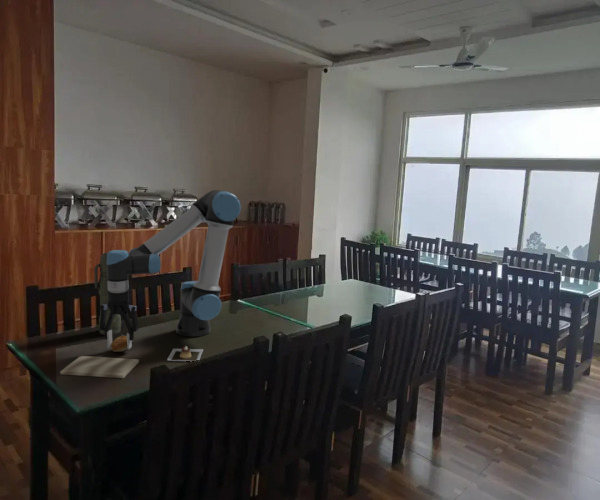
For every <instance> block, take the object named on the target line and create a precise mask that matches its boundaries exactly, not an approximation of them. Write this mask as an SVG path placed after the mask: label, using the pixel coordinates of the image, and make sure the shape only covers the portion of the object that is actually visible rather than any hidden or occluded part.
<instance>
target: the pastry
mask: <svg viewBox="0 0 600 500" xmlns="http://www.w3.org/2000/svg"><path fill="white" fill-rule="evenodd" d="M111 346H112V347H111V350H112V351H113V352H124V351H125V350H128V349H127V335H126V336H125V335H121V336H117V337H116V338H115V339H114V340H112V345H111Z"/></svg>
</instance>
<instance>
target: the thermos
mask: <svg viewBox="0 0 600 500" xmlns="http://www.w3.org/2000/svg"><path fill="white" fill-rule="evenodd" d="M107 253H108V252H104V253H102V254H101V256H100V259H99V263H98V264H96V265H95V267H94V269H93V271H94V287H95V289H96V290H98V295H99V307H100V306H101V305H103V304H108V292H109V291H108V280H107ZM98 268H99V271H98ZM98 272H100V275H98ZM98 276H99V279H98ZM99 311H100V313H99V317H98V326H99V327H98V328H99V334H100V335H101V336H102V335H103V336H105V331H104V330H100V318H101V309H100V310H99ZM110 312H111V311H110V309H109V308H108V309H107V315H106V324H107V321H108V318H109V314H110ZM121 327H122V316H121V315H119V314H116V315H115V316H114V319H113V322H112V325H111V327H110V328H111V329H109V330H112V336H113V335H114V336H115V335H118V334H120V333H121V332H122V330H121Z"/></svg>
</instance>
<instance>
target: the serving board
mask: <svg viewBox="0 0 600 500" xmlns="http://www.w3.org/2000/svg"><path fill="white" fill-rule="evenodd" d="M139 362H140V359H138V358H137V359H136V358H123V357H122V358H119V357H105V356H104V357H103V356H90V355H89V356H88V355H87V356H86V355H80V356H78V358H76V359H75V360H73V361H72V362H71V363H69V364H68V365H67V366H65V367H64V368H63V369H62V370H60V373H59V374H60V375H67V376H69V375H70V376H84V377H85V376H86V377H98V378H99V377H100V378H116V379H124V378H126V376H127V375H128V374H129V373H130V372H131V371H132V370H133V369H134V368H135V367H136V366H137V365H138V364H139Z"/></svg>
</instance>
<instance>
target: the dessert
mask: <svg viewBox="0 0 600 500" xmlns="http://www.w3.org/2000/svg"><path fill="white" fill-rule="evenodd" d="M176 352H180V354H179V357H180V359H173V357H174V355H175V354H176ZM194 352H195V353H198V354H197V357H196V360H199V361H200V359H201V357H202V354H203V352H204V349H203V348H198V349H197V348H188V346H187V345H185V346H184V347H182V348H172V351H171V352H170V354H169V355H168V357H167V358H166V361H168V362H186V361H188V360H186V359H190V358H191V357H192V353H194ZM181 359H182V360H181ZM183 359H185V360H183ZM189 361H190V363H193V362H192V361H193V360H189Z"/></svg>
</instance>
